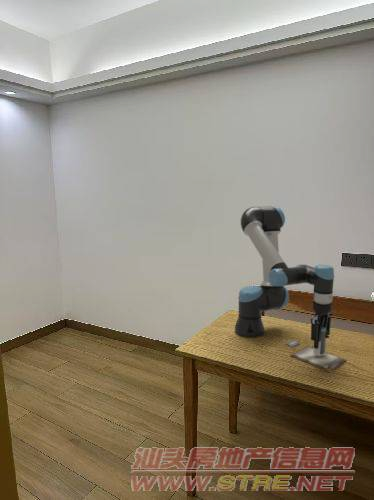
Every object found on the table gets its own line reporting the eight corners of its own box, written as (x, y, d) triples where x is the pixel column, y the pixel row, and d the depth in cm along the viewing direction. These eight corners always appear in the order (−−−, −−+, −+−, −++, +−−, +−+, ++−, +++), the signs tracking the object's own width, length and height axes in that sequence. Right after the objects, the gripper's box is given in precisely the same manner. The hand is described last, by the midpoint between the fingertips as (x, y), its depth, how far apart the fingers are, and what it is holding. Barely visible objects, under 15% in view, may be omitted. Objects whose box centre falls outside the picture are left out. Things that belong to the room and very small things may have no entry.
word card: (285, 344, 158) (285, 343, 158) (292, 340, 162) (292, 339, 162) (292, 347, 155) (292, 346, 155) (299, 343, 159) (300, 342, 159)
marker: (312, 353, 146) (314, 327, 144) (317, 350, 148) (318, 324, 146) (321, 357, 143) (322, 330, 141) (326, 354, 145) (327, 327, 143)
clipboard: (290, 356, 147) (290, 352, 147) (307, 346, 156) (307, 343, 155) (329, 372, 133) (330, 368, 133) (346, 361, 142) (346, 357, 142)
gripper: (320, 308, 133) (317, 362, 137) (340, 299, 144) (337, 350, 148) (303, 303, 139) (300, 356, 143) (324, 295, 149) (321, 344, 153)
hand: (319, 353), depth 145 cm, fingers closed on marker, 4 cm apart
